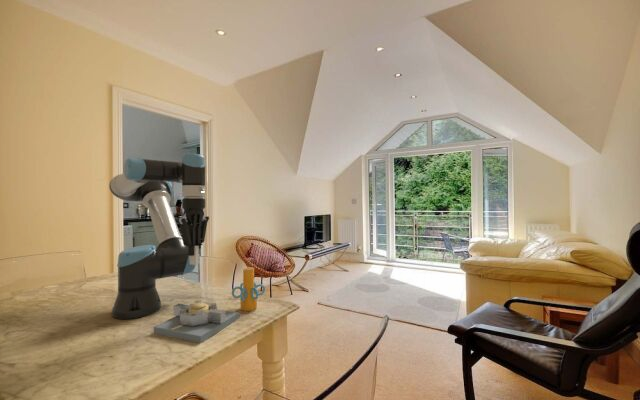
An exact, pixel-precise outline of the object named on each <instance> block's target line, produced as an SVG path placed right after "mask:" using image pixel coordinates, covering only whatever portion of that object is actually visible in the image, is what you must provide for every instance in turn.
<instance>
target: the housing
mask: <svg viewBox="0 0 640 400" xmlns="http://www.w3.org/2000/svg"><path fill="white" fill-rule="evenodd" d="M192 304H193V305H192V306H190V307H189V313H191V314H196V310H203V312H206V311H208V310H209V305H208V304H206V303H203V302H201V303H196V304H195V303H192ZM217 310H220V309H219V308H217ZM222 310H223V311H225V321H224V322H223V323H221V324H219V323H214V322H209V323H207V324H201V325H196V326H188V325H183V324H180V316H174V317H172V318H170V319H167V320H165V321H163V322H160V323H159V324H157V325H154V326H153V334H155V335H161V336H165V337H170V338H174V339H180V340H183V341H189V342H195V343H196V344H197V343H198V344H202V343H204V342H206V341H207V340H208V339H210V338H212V337H213V336H214V335H216V334H217V333H219V332H220V331H222V330H224V329H225V328H226V327H228V326H230V325H231V324H232V323H234V322H235V321H237V320H239V319H240V312H237V311H230V310H224V309H222Z"/></svg>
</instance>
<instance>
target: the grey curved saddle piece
mask: <svg viewBox="0 0 640 400" xmlns="http://www.w3.org/2000/svg"><path fill="white" fill-rule="evenodd" d="M196 303H206V304H208V305H209V310H208V311H206V312H203V310H196V314H191V313H189V307H190V306H192V305H193V304H196ZM217 309H218V305H217V302H207V301H205V302H204V301H203V302H202V300H201V299H199V300H195V301H194V303H191V304H185V303H177V304H175V305H173V316H174V317H175V316H180V324H183V325H188V326H196V325H201V324H207V323H209V322H214V323H219V324H221V323H223V322H224V321H225V311H226V310H225V311H223V310H224V309H219V310H217Z"/></svg>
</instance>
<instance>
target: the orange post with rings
mask: <svg viewBox="0 0 640 400" xmlns="http://www.w3.org/2000/svg"><path fill="white" fill-rule="evenodd" d="M242 274H243V275H242V282H241V283H240V286H235V287H234V288H233V289H232V290H231V296H232V297H233V298H235V299H239V298H240V310H241V311H244V312H250V311H254V310H256V309H257V308H258V298H259V296H262V295H264V293H265V292H266V288H265V287H266V286H265V285H264V284H261V283H258V284H256V282H255V267H252V266H247V267H243V269H242ZM258 287H262V291H261V292H260V293H259V290H258V289H257V288H258ZM237 289H239V290H240V294H239V295H235V290H237Z"/></svg>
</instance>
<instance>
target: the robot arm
mask: <svg viewBox="0 0 640 400" xmlns="http://www.w3.org/2000/svg"><path fill="white" fill-rule="evenodd" d="M124 162H125V163H124V167H123V173H121V174H117V175H115V176H114V177H112V179H111V180H110V182H109V184H108V186H109V187H108V188H109V191H110V192H111V194H112V195H113V196H114V197H115V198H118V199H120V200H123V201H127V202H141V203H142V204H143V206H144V207H145V208H147V209H148V212H149V217H150V219H151V222H152V226H153V229H154V231H155V235H156V238H157V242H158V244H157V246H156V245H155V244H146V245H137V246H134V247H128V248H125V249H123V250H122V251H120V252H119V254H118V258H117V265H116V266H117V294H116V295H117V296H116V298H115V301H114V304H113V307H112V309H111V311H112V312H111V317H112V318H114V319H116V320H117V319H118V320H131V319H138V318H142V317H146V316H149V315H152V314H154V313H156V312H158V311H159V310H161V308H162V301H161V299H160V295H159V293H158V290H157V287H156V286H157V285H156V284H157V283H156V281H157V280H158V279H159V280H160V279H165V278H170V277H176V276H183V275H186V274H187V275H188V274H190V273H192V272H194V270H195V269H196V266H197V265H199V264H200V258H199V257H200V253H201V251H200V250H201V249H200V247H201V246H202V245H203V244H204V243H205V237H206V234H207V226H208V223H209V219H210V217H209V216H206V215H205V210H204V209H206V199H205V197H206V158H205V156H204V154H199V153H184V154H182V156H181V161H170V160H169V161H168V160H158V159H157V160H156V159H147V158H140V157H138V158H137V157H136V158H132V157H129V158H127V159H125V161H124ZM172 183H179V184H182V185H181V196H182V199H181V203H182V205H181V207H182V209H183V212H182V216H181V217H179V218H177V219H175V216H174V213H173V210H172V208H171V205H170V202H171V200H172V198H173V196H174V189H173V185H172ZM177 223H178V224H177ZM178 225H179V228H178ZM179 229H180V230H179Z"/></svg>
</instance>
